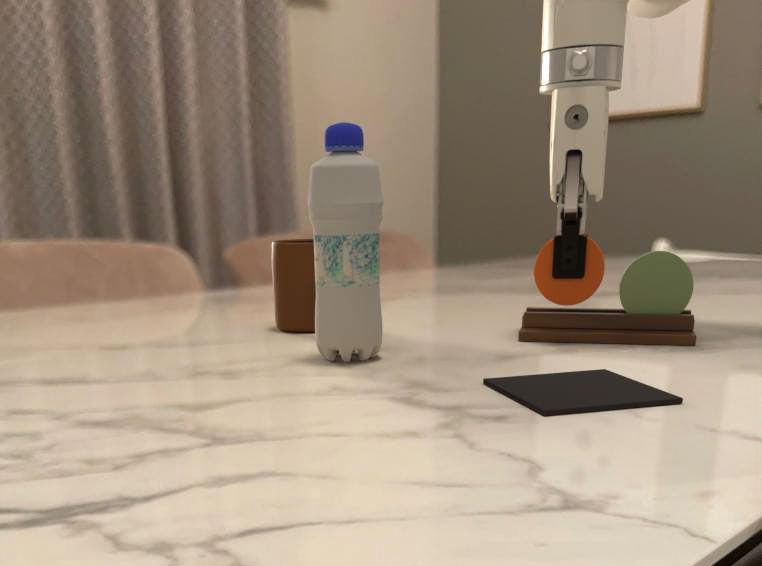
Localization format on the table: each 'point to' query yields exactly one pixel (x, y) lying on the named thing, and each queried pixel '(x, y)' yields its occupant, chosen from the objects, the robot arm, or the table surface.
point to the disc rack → (606, 326)
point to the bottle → (346, 246)
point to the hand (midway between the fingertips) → (568, 275)
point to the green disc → (656, 284)
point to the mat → (579, 392)
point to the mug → (294, 284)
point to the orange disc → (569, 288)
